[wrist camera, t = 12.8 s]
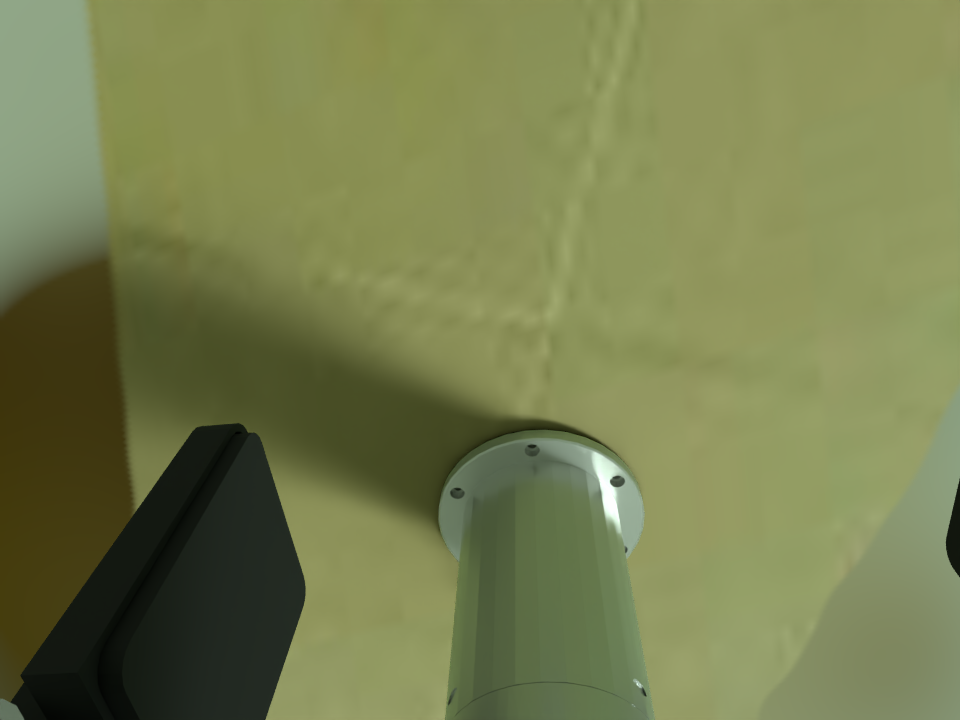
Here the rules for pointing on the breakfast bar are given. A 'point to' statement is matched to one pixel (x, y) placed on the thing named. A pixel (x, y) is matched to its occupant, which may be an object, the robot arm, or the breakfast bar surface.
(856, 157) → the breakfast bar surface
